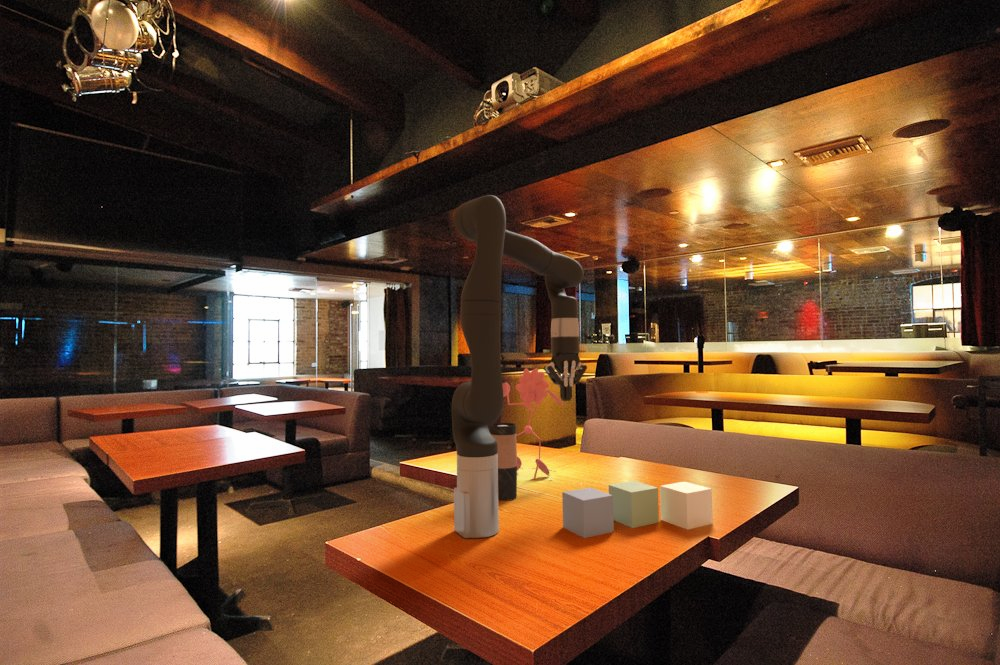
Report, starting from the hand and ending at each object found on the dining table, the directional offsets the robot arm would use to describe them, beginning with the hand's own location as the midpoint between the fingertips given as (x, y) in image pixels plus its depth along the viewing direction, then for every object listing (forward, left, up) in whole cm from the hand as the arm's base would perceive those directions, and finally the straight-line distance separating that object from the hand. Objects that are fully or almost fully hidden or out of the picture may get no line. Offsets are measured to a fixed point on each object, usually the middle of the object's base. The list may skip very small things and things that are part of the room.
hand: (566, 400), depth 137 cm
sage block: (+5, -19, -27) cm, 34 cm away
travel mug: (-12, +14, -27) cm, 33 cm away
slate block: (-8, -19, -27) cm, 34 cm away
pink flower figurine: (+10, +34, -27) cm, 45 cm away
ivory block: (+15, -26, -27) cm, 40 cm away
